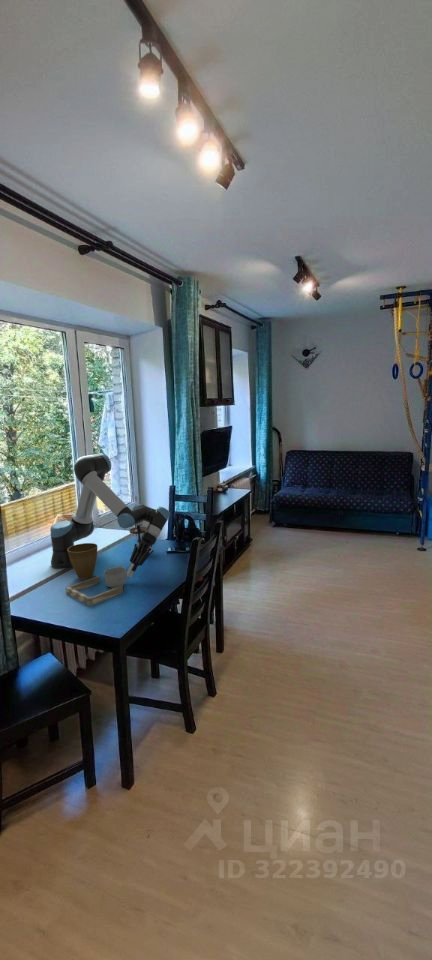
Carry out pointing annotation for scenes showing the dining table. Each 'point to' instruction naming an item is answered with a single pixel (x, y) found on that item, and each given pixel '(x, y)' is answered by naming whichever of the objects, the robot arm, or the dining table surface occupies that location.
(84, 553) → the plant pot
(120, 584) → the teacup
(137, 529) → the candlestick
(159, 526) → the robot arm
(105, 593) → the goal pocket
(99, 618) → the dining table surface
